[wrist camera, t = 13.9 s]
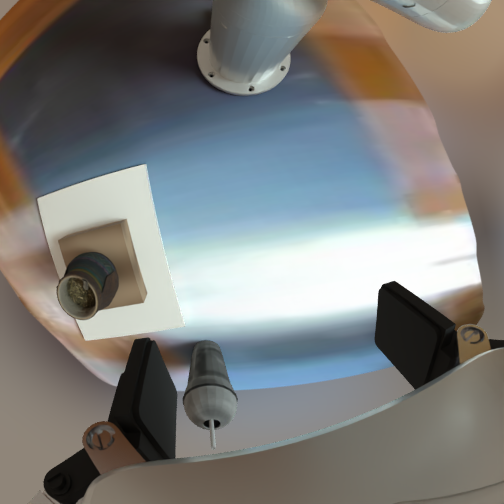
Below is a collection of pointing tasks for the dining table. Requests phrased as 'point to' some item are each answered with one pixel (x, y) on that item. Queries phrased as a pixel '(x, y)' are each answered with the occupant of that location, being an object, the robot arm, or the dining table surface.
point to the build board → (144, 241)
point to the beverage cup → (209, 390)
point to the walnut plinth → (117, 250)
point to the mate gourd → (87, 285)
